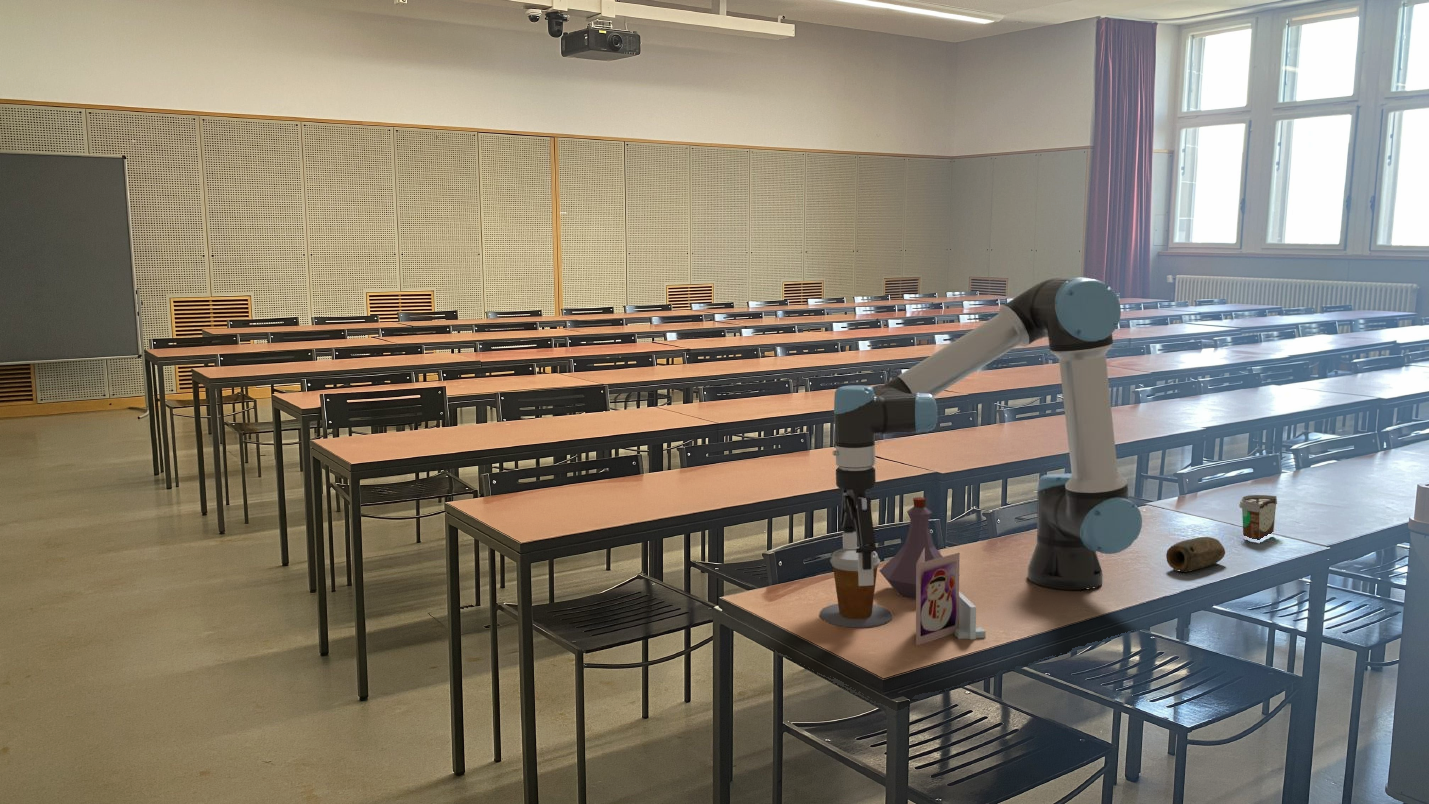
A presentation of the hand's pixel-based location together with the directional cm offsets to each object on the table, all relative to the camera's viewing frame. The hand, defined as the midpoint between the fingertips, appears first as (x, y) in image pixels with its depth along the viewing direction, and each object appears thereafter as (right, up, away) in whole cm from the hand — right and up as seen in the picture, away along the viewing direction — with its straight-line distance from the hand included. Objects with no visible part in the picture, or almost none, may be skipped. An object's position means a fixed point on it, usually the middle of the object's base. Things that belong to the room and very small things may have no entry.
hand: (858, 574), depth 193 cm
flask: (+15, -6, +14) cm, 21 cm away
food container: (+104, 0, +51) cm, 116 cm away
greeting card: (+11, -9, -10) cm, 18 cm away
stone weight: (+79, -4, +28) cm, 84 cm away
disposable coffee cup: (0, -8, +1) cm, 8 cm away
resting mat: (0, -8, +1) cm, 8 cm away
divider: (+18, -8, -5) cm, 21 cm away
